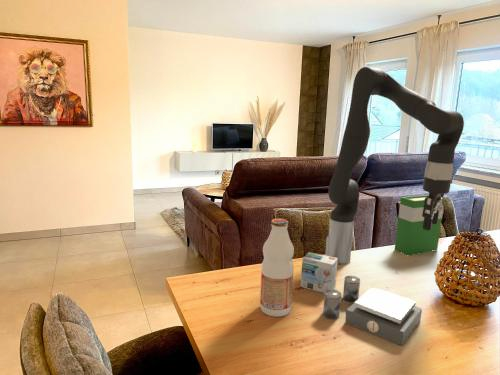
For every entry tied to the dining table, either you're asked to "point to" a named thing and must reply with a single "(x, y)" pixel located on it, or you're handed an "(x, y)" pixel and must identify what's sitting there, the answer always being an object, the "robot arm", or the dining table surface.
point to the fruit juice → (277, 271)
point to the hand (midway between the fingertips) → (430, 226)
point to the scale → (384, 324)
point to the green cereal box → (415, 227)
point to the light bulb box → (318, 272)
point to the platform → (385, 304)
